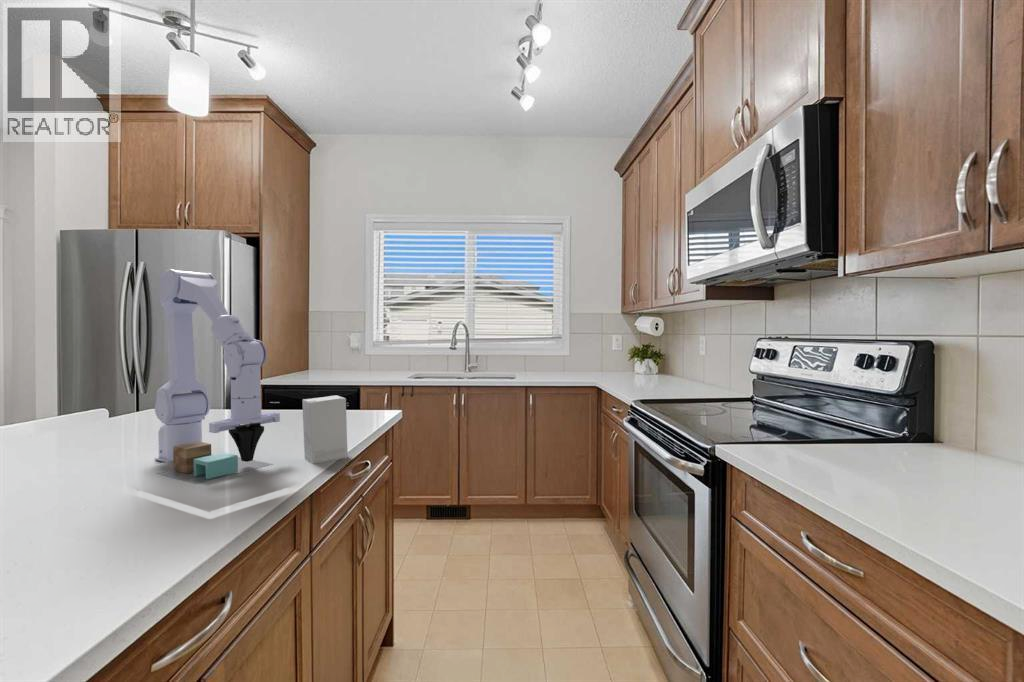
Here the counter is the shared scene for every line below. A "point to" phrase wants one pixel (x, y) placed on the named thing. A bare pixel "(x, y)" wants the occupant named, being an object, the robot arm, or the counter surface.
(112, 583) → the counter surface
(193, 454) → the jaw block
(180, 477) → the slate board
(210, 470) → the housing cover
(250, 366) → the robot arm
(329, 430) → the skincare box
